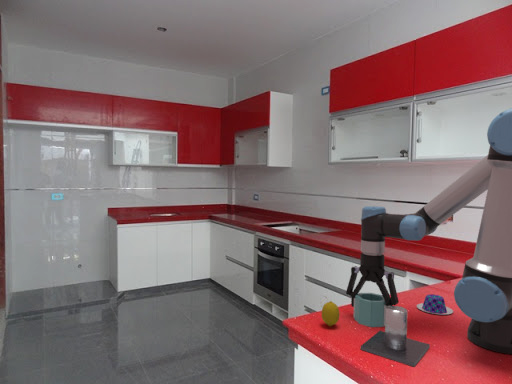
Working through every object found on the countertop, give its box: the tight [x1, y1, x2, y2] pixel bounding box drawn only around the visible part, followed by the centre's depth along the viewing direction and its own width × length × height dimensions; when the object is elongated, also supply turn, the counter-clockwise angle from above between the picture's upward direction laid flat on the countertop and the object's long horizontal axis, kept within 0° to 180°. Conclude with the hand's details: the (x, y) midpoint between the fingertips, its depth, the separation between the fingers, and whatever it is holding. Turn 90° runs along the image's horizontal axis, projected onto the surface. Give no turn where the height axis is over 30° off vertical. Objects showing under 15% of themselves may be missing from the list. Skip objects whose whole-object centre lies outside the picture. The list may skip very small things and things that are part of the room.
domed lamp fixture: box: [360, 305, 431, 368], centre depth 99 cm, size 14×14×11 cm
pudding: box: [416, 293, 454, 316], centre depth 131 cm, size 12×12×5 cm
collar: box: [354, 292, 386, 328], centre depth 118 cm, size 10×10×8 cm
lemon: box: [321, 300, 340, 327], centre depth 114 cm, size 6×6×8 cm
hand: (370, 320), depth 119 cm, fingers closed on collar, 9 cm apart
